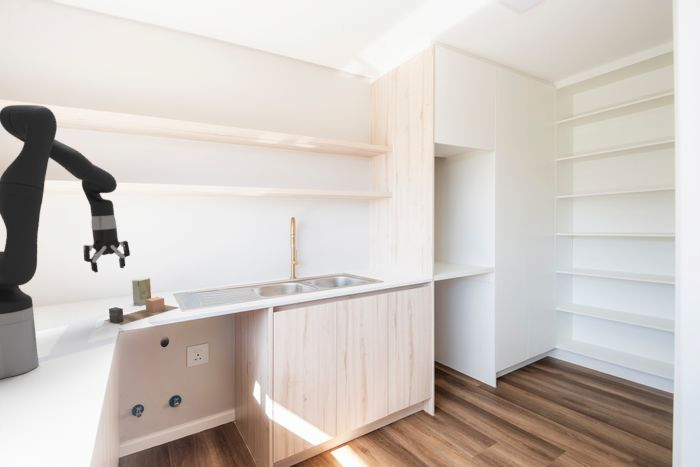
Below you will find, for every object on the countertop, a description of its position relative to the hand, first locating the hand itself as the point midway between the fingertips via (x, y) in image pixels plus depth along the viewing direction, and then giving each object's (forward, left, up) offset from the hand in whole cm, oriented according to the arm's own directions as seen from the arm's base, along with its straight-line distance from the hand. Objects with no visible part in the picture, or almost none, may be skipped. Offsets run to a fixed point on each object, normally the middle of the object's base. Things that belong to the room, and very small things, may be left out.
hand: (109, 269), depth 133 cm
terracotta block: (+16, -1, -20) cm, 26 cm away
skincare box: (+20, +15, -21) cm, 33 cm away
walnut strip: (+11, -1, -21) cm, 24 cm away
